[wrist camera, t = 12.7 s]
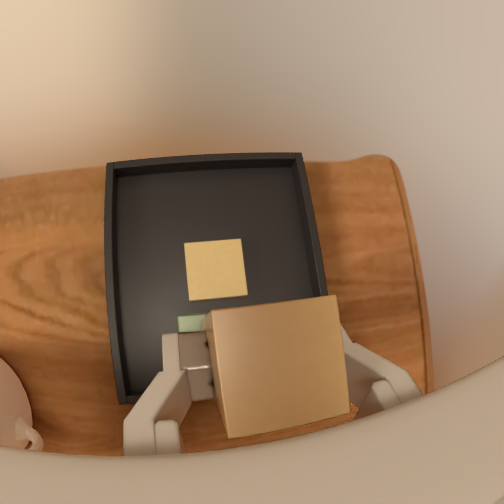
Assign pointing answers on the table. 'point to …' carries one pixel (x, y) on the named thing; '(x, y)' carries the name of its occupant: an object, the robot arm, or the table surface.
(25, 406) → the mug
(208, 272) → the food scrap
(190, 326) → the scrub brush
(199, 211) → the black tray
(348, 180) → the table surface
